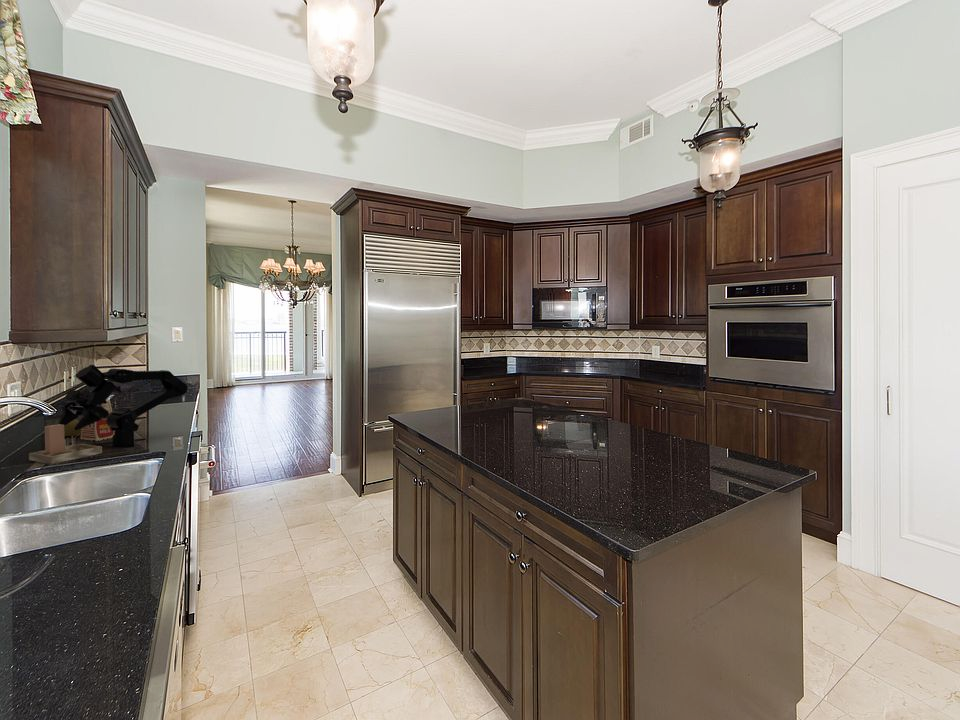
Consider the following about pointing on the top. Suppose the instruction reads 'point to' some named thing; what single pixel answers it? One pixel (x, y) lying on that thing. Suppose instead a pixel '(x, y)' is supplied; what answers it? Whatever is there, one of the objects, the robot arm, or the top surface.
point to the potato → (71, 429)
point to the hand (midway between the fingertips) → (66, 428)
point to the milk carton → (98, 427)
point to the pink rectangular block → (54, 439)
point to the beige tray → (66, 454)
